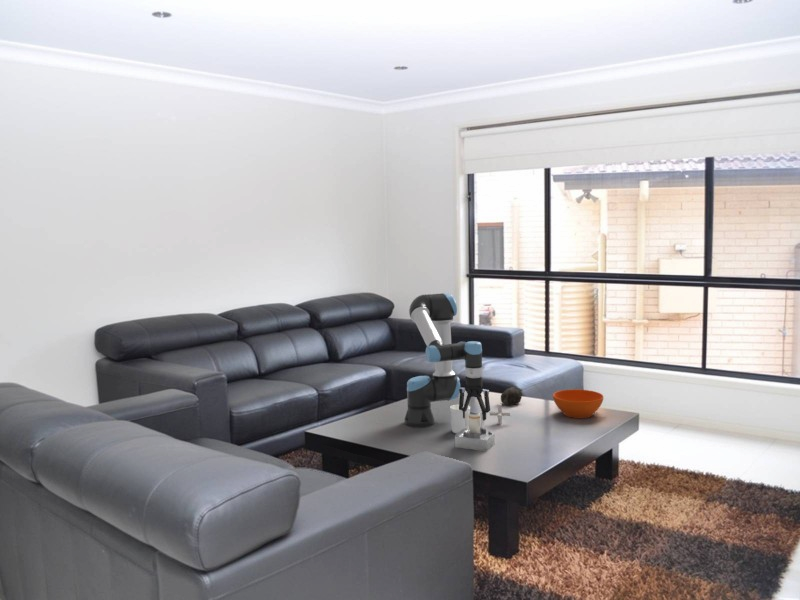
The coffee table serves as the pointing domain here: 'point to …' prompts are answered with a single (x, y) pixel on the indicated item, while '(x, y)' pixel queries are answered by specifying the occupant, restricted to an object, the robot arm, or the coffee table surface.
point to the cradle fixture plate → (475, 440)
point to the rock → (511, 396)
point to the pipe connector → (500, 413)
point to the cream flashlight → (474, 422)
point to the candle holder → (458, 418)
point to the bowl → (578, 402)
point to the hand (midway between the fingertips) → (474, 426)
